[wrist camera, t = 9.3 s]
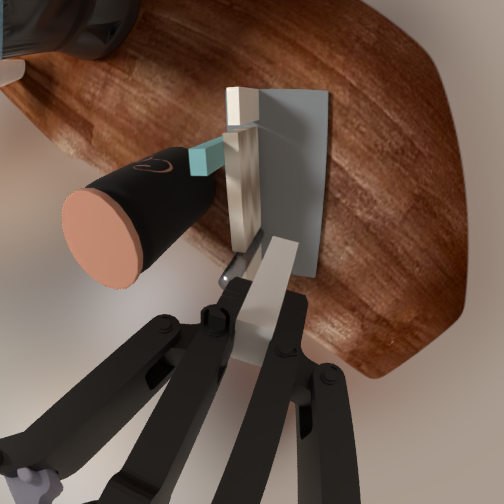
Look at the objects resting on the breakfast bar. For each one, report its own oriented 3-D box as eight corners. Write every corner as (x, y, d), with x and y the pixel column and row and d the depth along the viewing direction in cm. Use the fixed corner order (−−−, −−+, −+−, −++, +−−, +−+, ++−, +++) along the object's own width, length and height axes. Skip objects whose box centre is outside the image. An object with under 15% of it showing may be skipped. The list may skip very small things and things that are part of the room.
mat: (226, 90, 29) (225, 90, 29) (328, 91, 26) (328, 90, 26) (236, 264, 42) (235, 266, 42) (315, 275, 39) (315, 277, 39)
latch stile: (235, 131, 32) (188, 149, 22) (248, 131, 31) (205, 148, 21) (236, 149, 33) (190, 175, 23) (248, 149, 32) (207, 175, 23)
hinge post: (250, 224, 38) (217, 274, 28) (265, 225, 37) (236, 277, 28) (251, 237, 39) (219, 290, 29) (265, 238, 38) (237, 293, 29)
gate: (261, 225, 36) (245, 252, 31) (250, 224, 37) (232, 251, 31) (257, 125, 30) (237, 132, 24) (245, 125, 30) (222, 133, 24)
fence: (248, 89, 28) (226, 87, 22) (258, 89, 28) (238, 86, 22) (253, 265, 41) (238, 296, 35) (261, 267, 40) (247, 297, 35)
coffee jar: (209, 138, 33) (112, 180, 18) (226, 213, 38) (155, 294, 23) (146, 153, 36) (49, 199, 22) (164, 218, 42) (86, 286, 27)
